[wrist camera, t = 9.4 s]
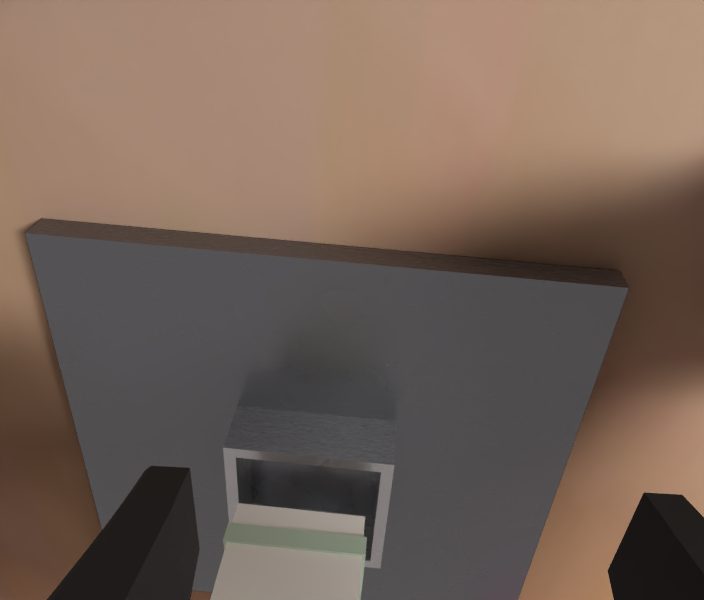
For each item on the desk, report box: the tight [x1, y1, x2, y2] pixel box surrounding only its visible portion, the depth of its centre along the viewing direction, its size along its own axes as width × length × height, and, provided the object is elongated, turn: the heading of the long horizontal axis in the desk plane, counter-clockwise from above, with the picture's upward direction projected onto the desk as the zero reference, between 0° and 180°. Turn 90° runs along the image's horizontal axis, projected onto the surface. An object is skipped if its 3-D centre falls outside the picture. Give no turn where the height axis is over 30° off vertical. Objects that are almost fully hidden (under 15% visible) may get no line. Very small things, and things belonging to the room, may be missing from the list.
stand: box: [25, 219, 629, 600], centre depth 23 cm, size 18×18×4 cm
